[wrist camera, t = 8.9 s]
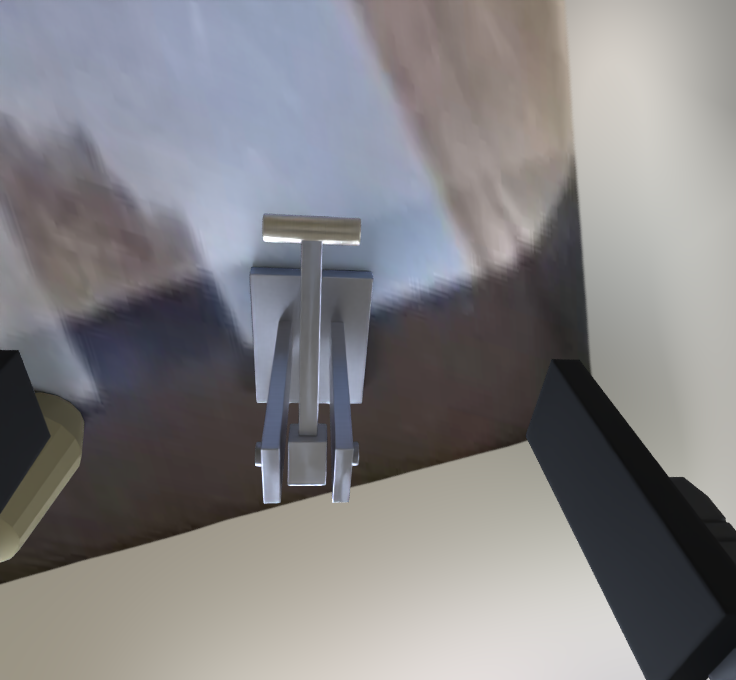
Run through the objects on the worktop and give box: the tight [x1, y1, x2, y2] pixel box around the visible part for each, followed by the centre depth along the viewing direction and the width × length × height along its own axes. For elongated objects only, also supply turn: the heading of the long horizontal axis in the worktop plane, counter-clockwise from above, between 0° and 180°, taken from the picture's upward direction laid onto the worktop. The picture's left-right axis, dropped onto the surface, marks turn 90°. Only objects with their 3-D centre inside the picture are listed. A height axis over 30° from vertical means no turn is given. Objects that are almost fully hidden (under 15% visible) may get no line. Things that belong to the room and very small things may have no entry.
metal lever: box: [262, 213, 361, 485], centre depth 27 cm, size 15×5×2 cm, turn 175°
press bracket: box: [250, 267, 373, 503], centre depth 34 cm, size 12×9×15 cm
